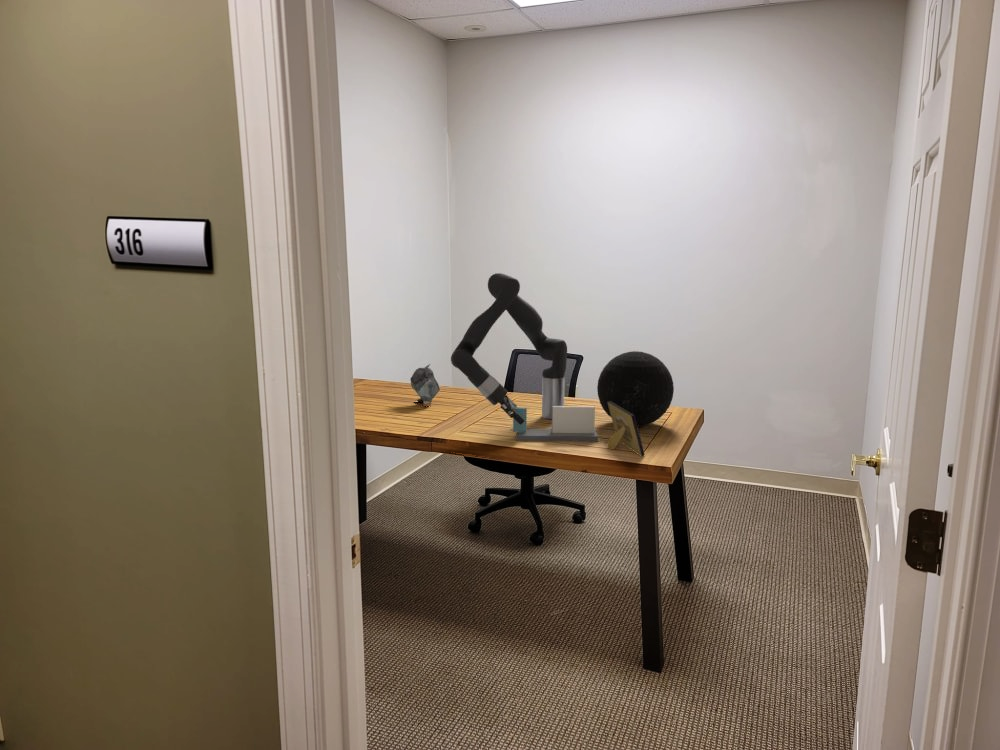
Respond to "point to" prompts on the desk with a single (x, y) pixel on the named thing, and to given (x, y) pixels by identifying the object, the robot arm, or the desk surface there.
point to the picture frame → (624, 429)
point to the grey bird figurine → (425, 385)
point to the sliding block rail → (566, 426)
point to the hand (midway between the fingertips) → (522, 420)
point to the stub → (522, 427)
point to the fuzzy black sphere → (636, 386)
